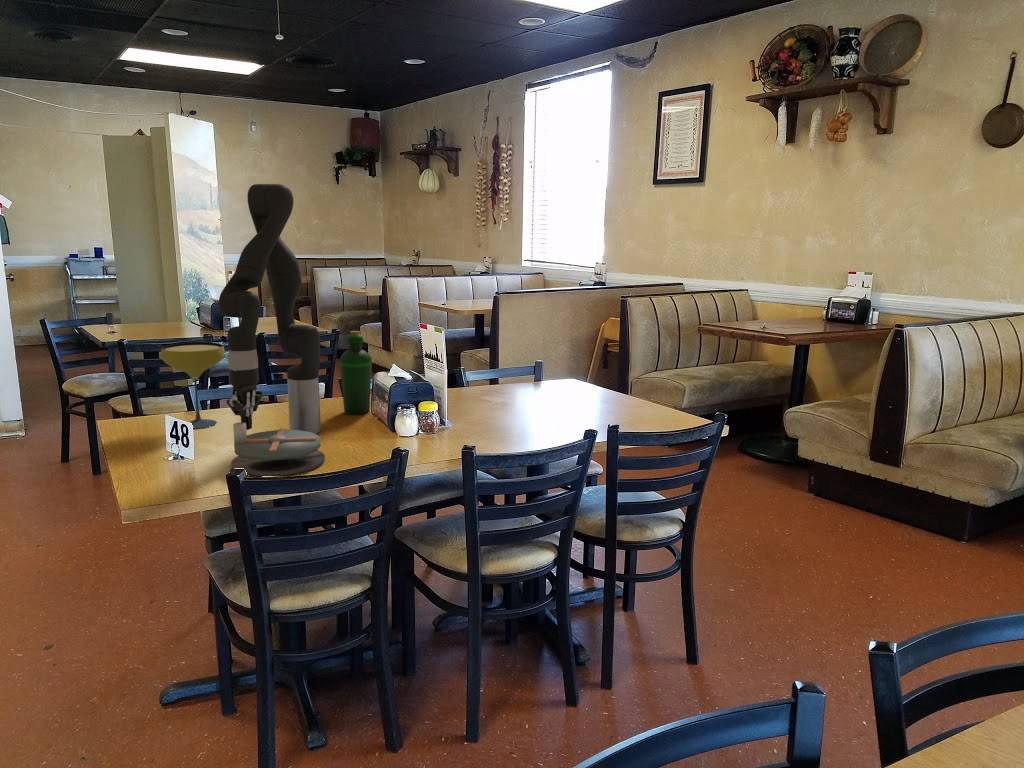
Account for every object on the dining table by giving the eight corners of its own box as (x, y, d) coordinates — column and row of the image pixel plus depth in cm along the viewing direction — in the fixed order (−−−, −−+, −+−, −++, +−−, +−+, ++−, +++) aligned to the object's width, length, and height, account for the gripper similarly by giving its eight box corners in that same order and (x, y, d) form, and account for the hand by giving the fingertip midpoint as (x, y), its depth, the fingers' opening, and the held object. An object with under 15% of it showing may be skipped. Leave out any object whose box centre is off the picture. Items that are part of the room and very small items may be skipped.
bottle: (370, 407, 258) (368, 328, 252) (374, 415, 249) (373, 333, 243) (339, 409, 255) (337, 329, 249) (342, 417, 245) (340, 334, 239)
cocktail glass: (239, 424, 234) (234, 347, 228) (183, 435, 220) (176, 353, 215) (212, 414, 245) (207, 340, 240) (157, 424, 232) (150, 346, 227)
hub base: (240, 450, 207) (239, 437, 206) (327, 448, 211) (327, 434, 210) (222, 479, 184) (221, 464, 183) (321, 475, 188) (320, 460, 187)
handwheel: (323, 434, 209) (322, 411, 208) (316, 458, 188) (315, 433, 187) (242, 437, 205) (240, 413, 204) (226, 461, 184) (224, 435, 183)
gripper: (246, 361, 202) (249, 421, 205) (215, 369, 189) (219, 434, 193) (270, 362, 200) (273, 424, 203) (240, 371, 187) (244, 436, 191)
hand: (246, 429), depth 198 cm, fingers closed
